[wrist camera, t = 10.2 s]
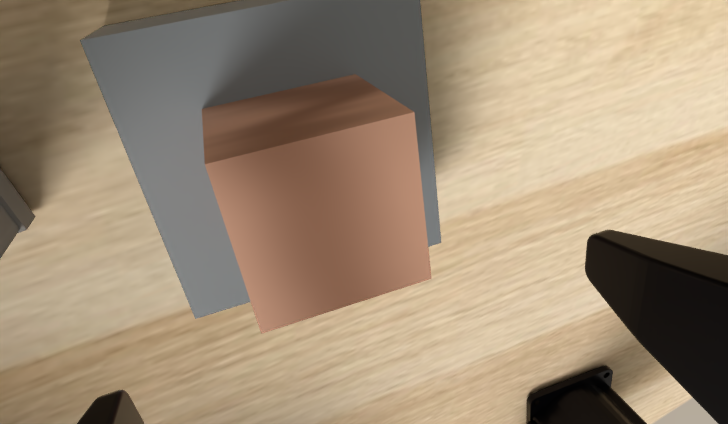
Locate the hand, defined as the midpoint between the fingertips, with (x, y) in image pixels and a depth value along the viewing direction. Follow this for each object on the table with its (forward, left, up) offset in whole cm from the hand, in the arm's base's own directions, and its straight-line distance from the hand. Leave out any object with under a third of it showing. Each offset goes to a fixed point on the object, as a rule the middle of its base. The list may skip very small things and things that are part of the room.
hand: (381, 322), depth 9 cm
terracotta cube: (0, 0, -9) cm, 9 cm away
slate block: (0, 0, -13) cm, 13 cm away
